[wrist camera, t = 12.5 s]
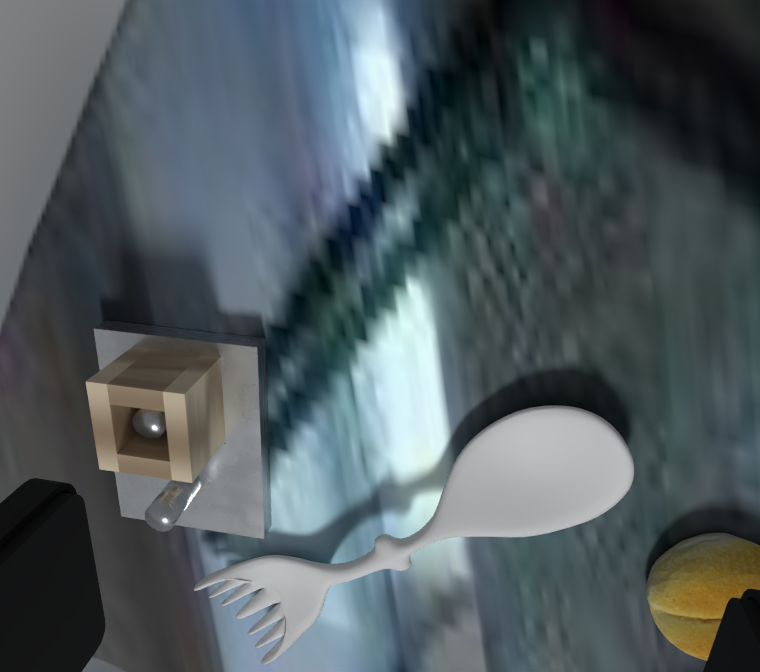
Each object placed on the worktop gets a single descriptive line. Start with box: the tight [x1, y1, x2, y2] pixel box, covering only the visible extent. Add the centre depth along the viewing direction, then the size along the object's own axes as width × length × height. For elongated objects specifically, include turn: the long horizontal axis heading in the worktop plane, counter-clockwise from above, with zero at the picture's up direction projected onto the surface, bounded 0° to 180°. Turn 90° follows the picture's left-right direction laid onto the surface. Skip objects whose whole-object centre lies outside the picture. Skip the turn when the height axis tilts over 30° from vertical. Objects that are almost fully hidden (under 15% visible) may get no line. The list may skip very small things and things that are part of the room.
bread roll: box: [646, 533, 760, 661], centre depth 40 cm, size 8×9×4 cm
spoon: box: [194, 405, 634, 664], centre depth 43 cm, size 9×32×3 cm, turn 126°
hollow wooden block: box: [86, 347, 226, 483], centre depth 39 cm, size 6×6×5 cm
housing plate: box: [94, 320, 271, 539], centre depth 41 cm, size 15×11×6 cm
